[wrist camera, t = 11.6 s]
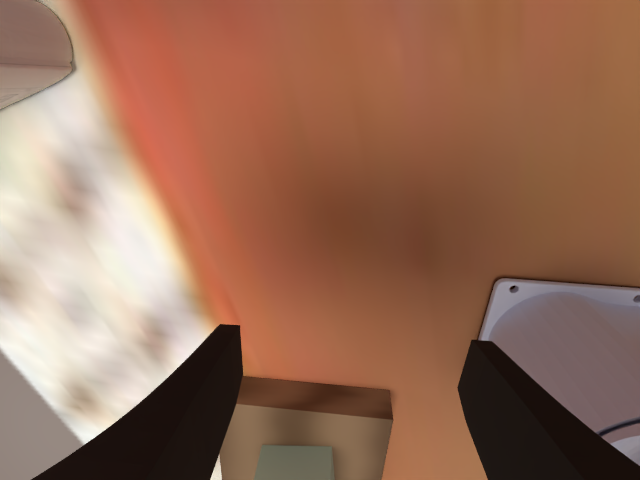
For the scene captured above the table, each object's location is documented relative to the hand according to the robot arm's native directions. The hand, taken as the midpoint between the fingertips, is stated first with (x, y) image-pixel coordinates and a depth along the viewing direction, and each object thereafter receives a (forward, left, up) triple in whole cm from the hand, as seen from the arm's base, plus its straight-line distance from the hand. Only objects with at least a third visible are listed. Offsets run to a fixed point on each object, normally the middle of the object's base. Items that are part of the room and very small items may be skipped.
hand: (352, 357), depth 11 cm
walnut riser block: (+2, +18, -11) cm, 22 cm away
